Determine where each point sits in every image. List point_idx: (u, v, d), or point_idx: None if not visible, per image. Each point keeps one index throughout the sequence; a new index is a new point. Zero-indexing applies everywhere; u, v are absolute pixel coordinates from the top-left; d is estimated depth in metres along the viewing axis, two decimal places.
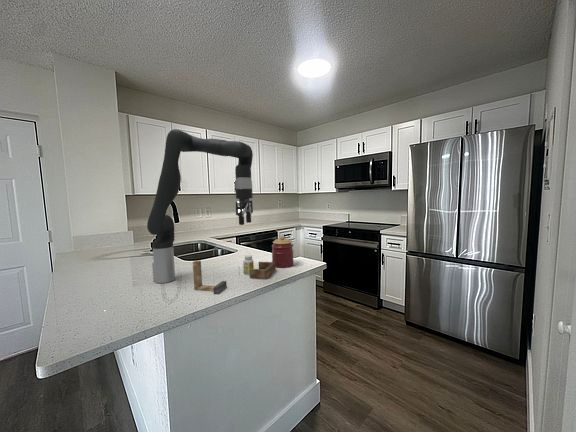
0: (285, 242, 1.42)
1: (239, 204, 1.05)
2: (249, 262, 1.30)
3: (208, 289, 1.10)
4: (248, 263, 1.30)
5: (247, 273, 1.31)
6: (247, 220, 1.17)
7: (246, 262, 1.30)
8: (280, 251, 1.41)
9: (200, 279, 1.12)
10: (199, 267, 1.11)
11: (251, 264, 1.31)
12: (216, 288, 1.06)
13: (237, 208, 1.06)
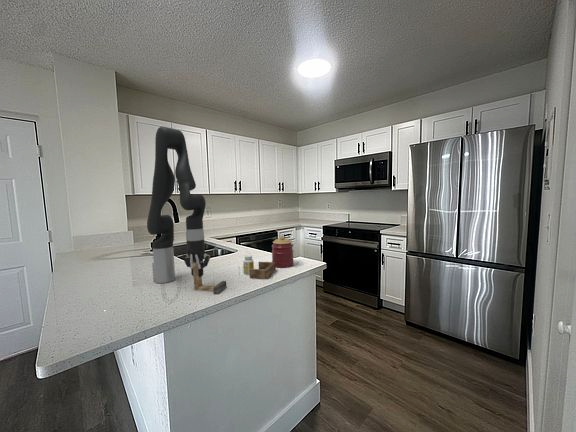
0: (285, 242, 1.42)
1: (209, 258, 1.10)
2: (249, 262, 1.30)
3: (208, 289, 1.10)
4: (248, 263, 1.30)
5: (247, 273, 1.31)
6: None
7: (246, 262, 1.30)
8: (280, 251, 1.41)
9: (200, 279, 1.12)
10: None
11: (251, 264, 1.31)
12: (216, 288, 1.06)
13: (206, 262, 1.10)
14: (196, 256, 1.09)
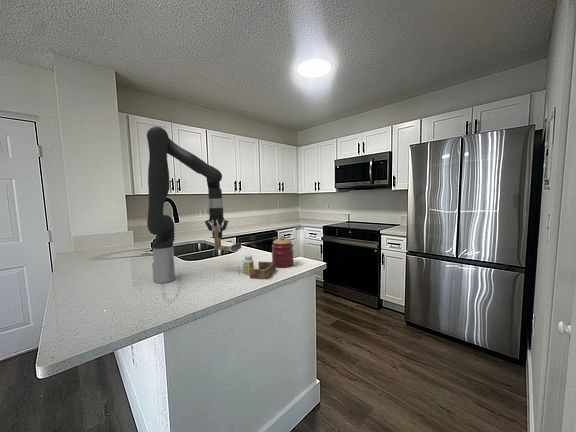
0: (285, 242, 1.42)
1: (227, 223, 1.34)
2: (249, 262, 1.30)
3: (226, 248, 1.33)
4: (248, 263, 1.30)
5: (247, 273, 1.31)
6: None
7: (246, 262, 1.30)
8: (280, 251, 1.41)
9: (219, 241, 1.35)
10: None
11: (251, 264, 1.31)
12: (233, 246, 1.29)
13: (225, 226, 1.33)
14: (217, 221, 1.32)
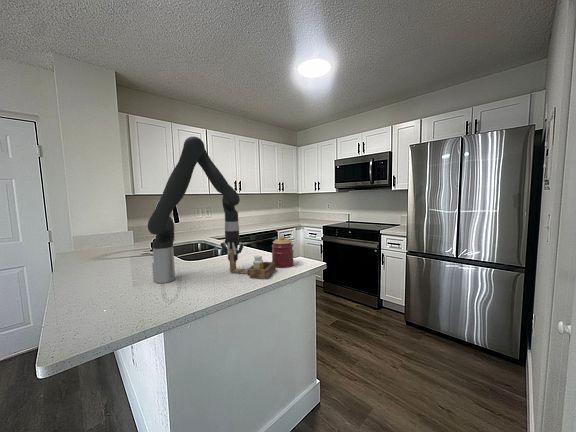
0: (285, 242, 1.42)
1: (243, 246, 1.33)
2: (259, 262, 1.29)
3: (242, 271, 1.33)
4: (258, 263, 1.29)
5: None
6: None
7: (256, 262, 1.29)
8: (280, 251, 1.41)
9: (235, 263, 1.35)
10: None
11: (261, 264, 1.30)
12: None
13: (241, 249, 1.32)
14: (233, 244, 1.32)
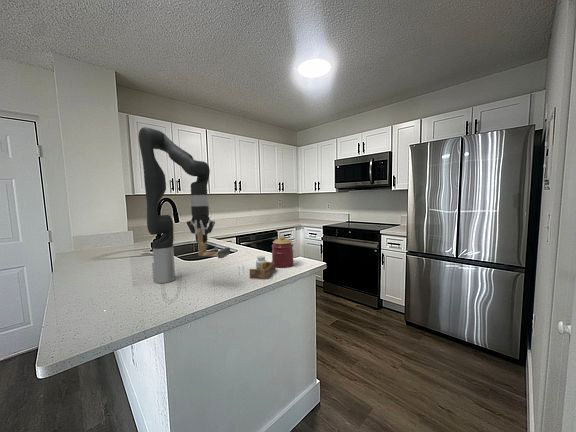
0: (285, 242, 1.42)
1: (213, 224, 1.13)
2: (262, 263, 1.29)
3: (212, 254, 1.12)
4: (261, 264, 1.28)
5: None
6: None
7: (259, 263, 1.28)
8: (280, 251, 1.41)
9: (204, 245, 1.14)
10: None
11: (264, 265, 1.29)
12: (220, 252, 1.08)
13: (211, 228, 1.12)
14: (201, 222, 1.11)
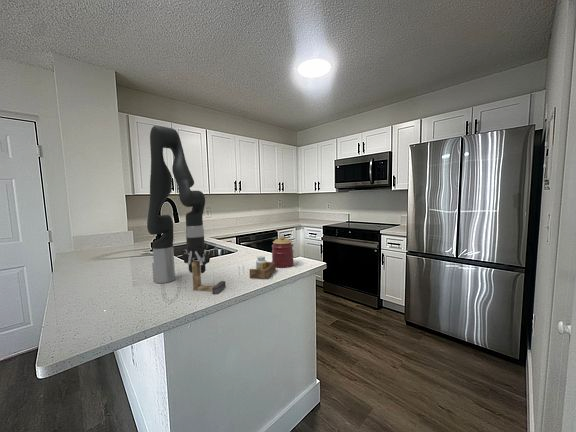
0: (285, 242, 1.42)
1: (209, 253, 1.10)
2: (262, 263, 1.29)
3: (207, 289, 1.10)
4: (261, 264, 1.28)
5: None
6: (191, 270, 1.12)
7: (259, 263, 1.28)
8: (280, 251, 1.41)
9: (199, 279, 1.12)
10: (198, 267, 1.11)
11: (264, 265, 1.29)
12: (215, 288, 1.06)
13: (208, 257, 1.09)
14: (196, 253, 1.09)
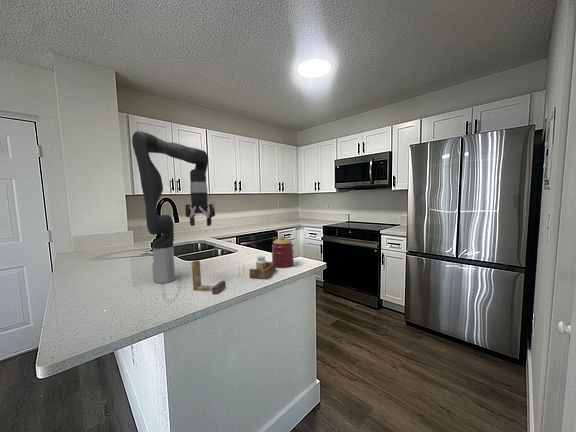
0: (285, 242, 1.42)
1: (213, 206, 1.16)
2: (262, 263, 1.29)
3: (207, 289, 1.10)
4: (261, 264, 1.28)
5: None
6: (192, 223, 1.18)
7: (259, 263, 1.28)
8: (280, 251, 1.41)
9: (199, 279, 1.12)
10: (198, 267, 1.11)
11: (264, 265, 1.29)
12: (215, 288, 1.06)
13: (212, 210, 1.15)
14: (200, 207, 1.15)
